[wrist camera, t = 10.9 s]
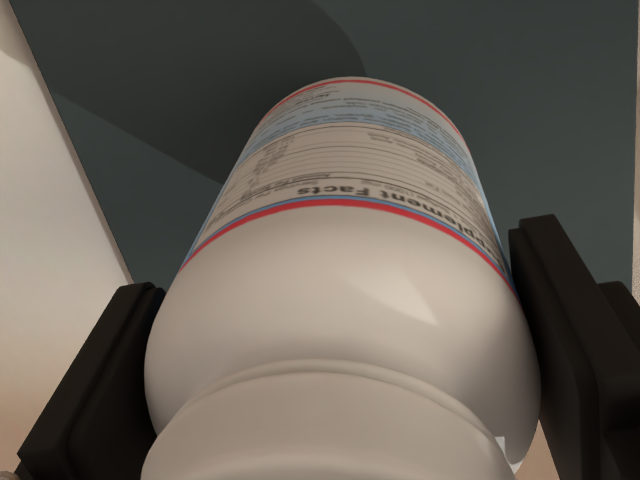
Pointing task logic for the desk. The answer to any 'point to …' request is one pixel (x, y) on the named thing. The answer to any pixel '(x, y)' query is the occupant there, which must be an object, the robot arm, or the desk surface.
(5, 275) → the desk surface
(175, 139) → the mat
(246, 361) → the pill bottle
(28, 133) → the desk surface
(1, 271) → the desk surface
